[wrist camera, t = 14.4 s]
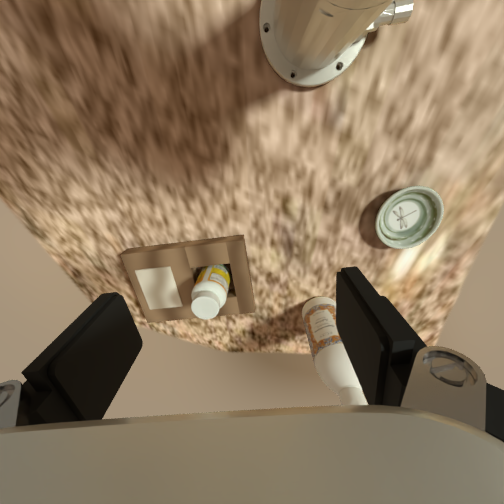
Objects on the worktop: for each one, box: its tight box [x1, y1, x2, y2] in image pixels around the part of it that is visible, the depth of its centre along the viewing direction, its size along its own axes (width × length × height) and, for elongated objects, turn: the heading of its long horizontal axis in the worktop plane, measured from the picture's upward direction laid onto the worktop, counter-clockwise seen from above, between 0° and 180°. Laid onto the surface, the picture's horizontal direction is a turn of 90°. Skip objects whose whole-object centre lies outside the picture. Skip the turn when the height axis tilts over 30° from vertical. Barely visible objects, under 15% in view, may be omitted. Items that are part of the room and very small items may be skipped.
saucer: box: [375, 186, 444, 249], centre depth 36 cm, size 10×10×2 cm
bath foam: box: [302, 297, 368, 405], centre depth 36 cm, size 7×7×20 cm
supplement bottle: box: [191, 264, 231, 319], centre depth 38 cm, size 5×5×10 cm
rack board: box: [120, 235, 255, 323], centre depth 41 cm, size 20×14×3 cm
